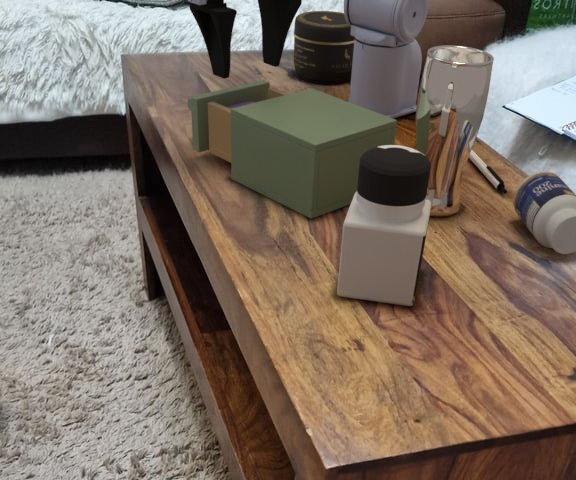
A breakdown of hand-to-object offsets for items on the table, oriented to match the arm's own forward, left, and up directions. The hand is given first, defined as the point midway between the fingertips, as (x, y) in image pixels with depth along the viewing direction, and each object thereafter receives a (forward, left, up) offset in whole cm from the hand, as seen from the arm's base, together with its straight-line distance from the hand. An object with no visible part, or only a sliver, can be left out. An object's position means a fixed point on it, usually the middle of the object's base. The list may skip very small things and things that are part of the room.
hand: (246, 70), depth 88 cm
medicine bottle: (+11, +32, -10) cm, 35 cm away
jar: (-31, -18, -10) cm, 37 cm away
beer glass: (-7, +24, -10) cm, 27 cm away
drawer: (0, +1, -9) cm, 9 cm away
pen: (-21, +19, -10) cm, 30 cm away
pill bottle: (-13, +33, -7) cm, 36 cm away
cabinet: (0, +11, -9) cm, 15 cm away
